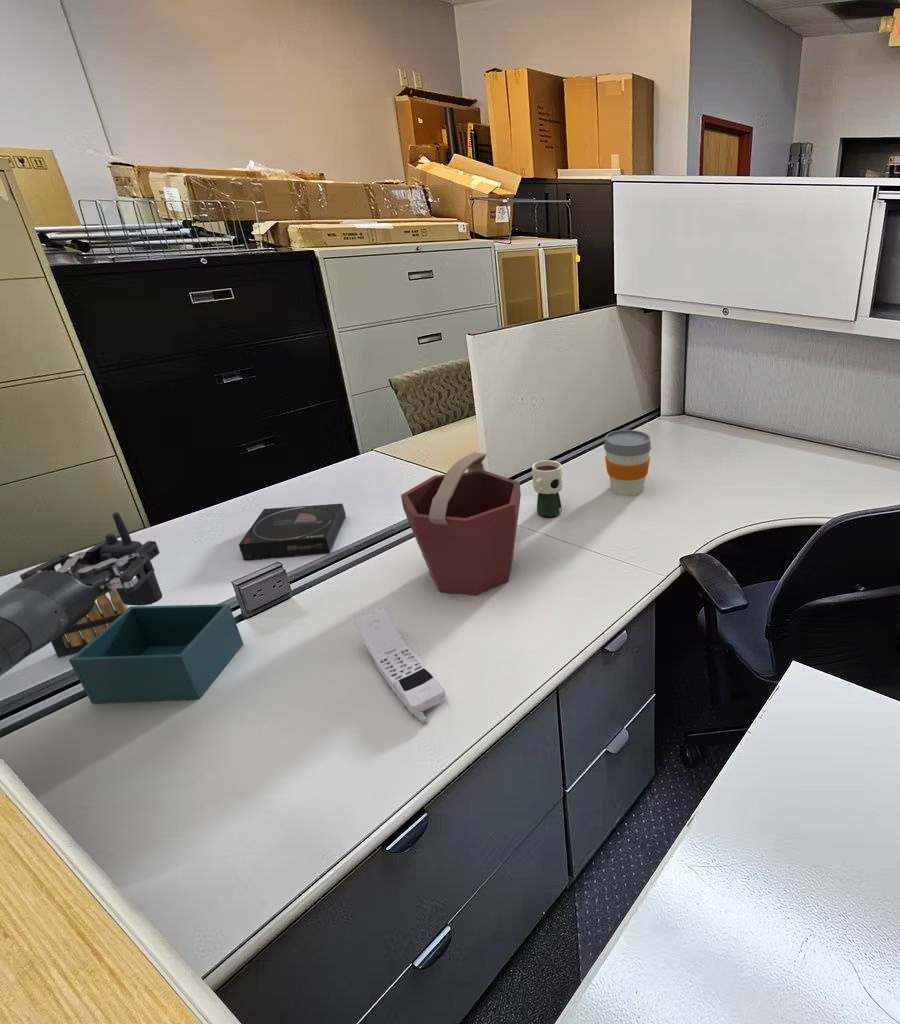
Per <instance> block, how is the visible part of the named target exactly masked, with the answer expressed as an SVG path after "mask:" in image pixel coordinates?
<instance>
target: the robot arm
mask: <svg viewBox="0 0 900 1024" xmlns="http://www.w3.org/2000/svg"><path fill="white" fill-rule="evenodd" d="M105 544H107V542H106V539H105V540H102V541H101V542H99V543H98V544H96V545H94V546H92V547H90V548H89V549H88V550H86V551H79V552H76V553H74V554H73V556H70V554H68V553H64V554H59V555H57V556H56V557H53V558H51V559H49V560H47V561H45V562H42V563H41V564H39V565H37V566H35V567H33V568H31V569H29V570H26V571H25V572H22V573H21V574H20V575H19V578H20V580H21V581H20V582H18V583H17V584H15V585H14V586H12V587H10V588H9V589H7V590H6V591H4V592H3V593H1V594H0V677H2V676H3V675H5V674H6V673H7V672H9V671H10V670H12V669H13V668H15V667H16V665H18V664H20V663H21V662H23V661H24V660H25V659H26V658H27V657H29V656H31V655H32V654H34V653H36V652H38V651H40V650H41V649H43V648H45V647H46V646H47V645H48V644H50V643H51V641H53V640H54V639H55V638H57V637H58V636H59V635H61V634H62V633H63V632H65V631H66V630H67V629H69V628H70V627H71V626H73V625H74V624H75V623H77V622H78V621H79V620H81V619H82V618H83V617H85V616H86V615H87V614H89V613H90V611H91V610H92V608H93V605H94V603H96V601H97V597H99V596H101V595H103V594H106V595H107V594H109V592H110V591H111V590H112V589H117V588H124V590H125V592H126V593H131V592H134V591H136V590H137V589H138V588H139V587H140V586H141V584H142V583H143V582H144V581H145V580H146V579H147V578H148V577H149V576H150V575H151V574H152V573H153V572H154V573H155V568H154V566H153V563H152V561H151V560H153V559H154V558H155V557H157V556H158V555H159V554H160V552H161V551H160V549H159V547H158V545H157V541H155V540H148V541H146V542H145V543H143V544H142V546H140V547H139V548H137V549H136V550H134V551H133V552H131V554H128V555H126V556H124V557H121V558H119V559H116V558H110V559H108V560H106V561H102V560H101V558H100V556H101V555H100V550H101V549H102V547H103V546H104V545H105ZM128 562H130V563H131V565H130V566H129V567H128V568H127V569H126V570H125V568H124V564H125V563H128ZM58 565H60V566H61V567H59V568H58V569H57V570H56V566H58ZM111 566H112V568H113V570H114V572H115V577H114V578H113V575H112V573H111V570H110V569H109V568H108V567H111ZM87 616H88V615H87Z"/></svg>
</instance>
